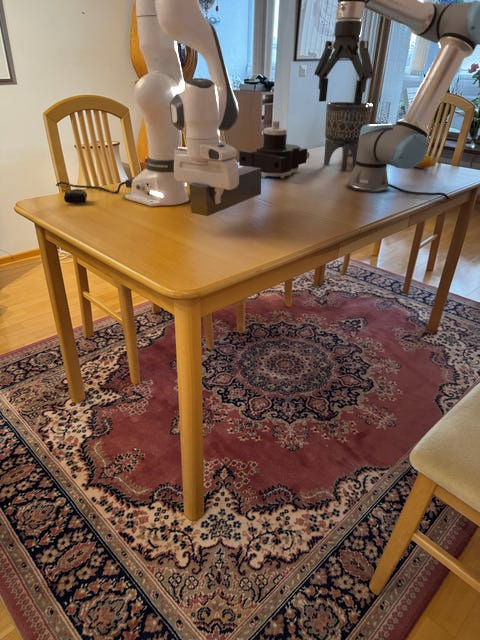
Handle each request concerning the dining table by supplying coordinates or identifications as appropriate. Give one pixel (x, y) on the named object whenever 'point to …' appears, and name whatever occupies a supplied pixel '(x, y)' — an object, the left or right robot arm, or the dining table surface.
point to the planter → (344, 129)
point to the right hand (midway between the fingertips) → (339, 103)
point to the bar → (225, 192)
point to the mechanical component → (275, 154)
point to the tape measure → (75, 196)
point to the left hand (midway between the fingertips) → (206, 201)
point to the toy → (426, 162)
